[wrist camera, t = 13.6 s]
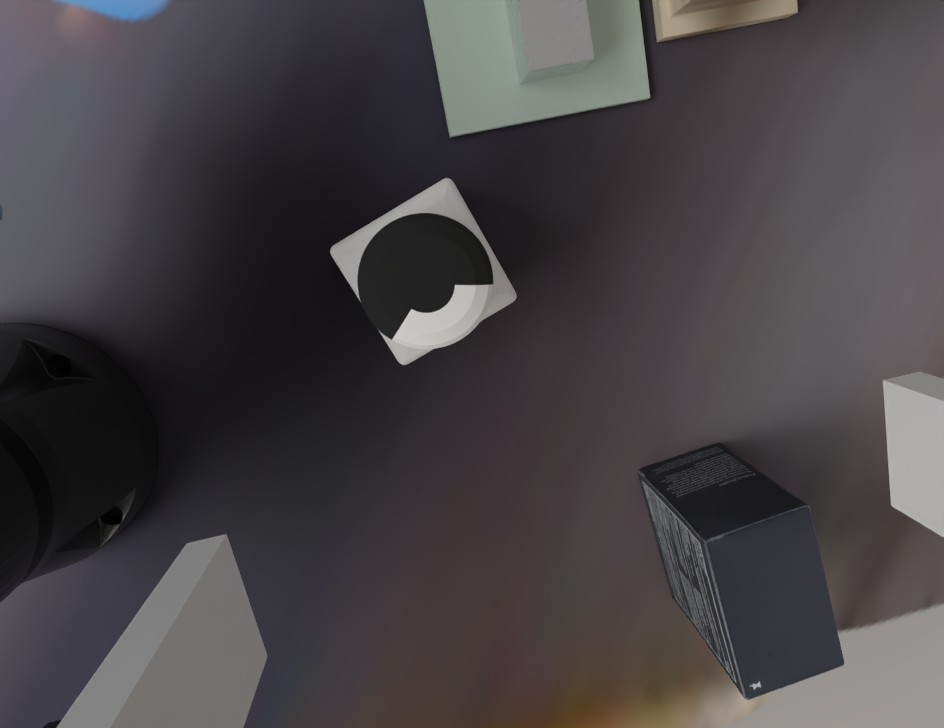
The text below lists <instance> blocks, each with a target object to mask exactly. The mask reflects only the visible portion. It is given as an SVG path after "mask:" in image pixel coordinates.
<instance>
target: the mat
mask: <svg viewBox="0 0 944 728" xmlns="http://www.w3.org/2000/svg"><path fill="white" fill-rule="evenodd" d="M586 3H587V10H588V17H589V24H590V31H591V38H592V45H593V52H594V59H593V60H592V61H591V62H590V63H589V64H587V65H586V66H585V67H584V68H583V69H582V70H581V71H580V72H579V73H576V74H571V75H565V76H560V77H555V78H550V79H545V80H540V81H535V82H530V83H525V84H520V85H519V80H518V74H517V68H516V62H515V56H514V51H513V45H512V39H511V33H510V27H509V21H508V15H507V9H506V3H505V0H424V5H425V10H426V16H427V21H428V26H429V31H430V37H431V42H432V47H433V52H434V58H435V63H436V68H437V73H438V79H439V84H440V89H441V95H442V100H443V105H444V110H445V116H446V121H447V126H448V131H449V137H450V138H451V137H456V136H461V135H466V134H471V133H476V132H482V131H487V130H492V129H497V128H502V127H507V126H513V125H518V124H523V123H528V122H533V121H538V120H544V119H549V118H554V117H559V116H564V115H569V114H575V113H580V112H585V111H590V110H595V109H600V108H606V107H611V106H616V105H621V104H626V103H632V102H637V101H642V100H647V99H649V98H650V90H649V82H648V73H647V65H646V57H645V48H644V40H643V31H642V23H641V15H640V6H639V0H586Z"/></svg>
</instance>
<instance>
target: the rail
mask: <svg viewBox="0 0 944 728" xmlns="http://www.w3.org/2000/svg"><path fill="white" fill-rule="evenodd" d="M505 3H506V9H507V15H508V21H509V27H510V33H511V39H512V45H513V51H514V56H515V62H516V68H517V74H518V80H519V85H520V84H525V83H530V82H535V81H540V80H545V79H550V78H555V77H560V76H565V75H571V74H576V73H579V72H580V71H581V70H582V69H583V68H584V67H585V66H586V65H587V64H589V63H590V62H591V61H592V60H593V59H594V52H593V45H592V38H591V31H590V24H589V17H588V10H587V3H586V0H505Z"/></svg>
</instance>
